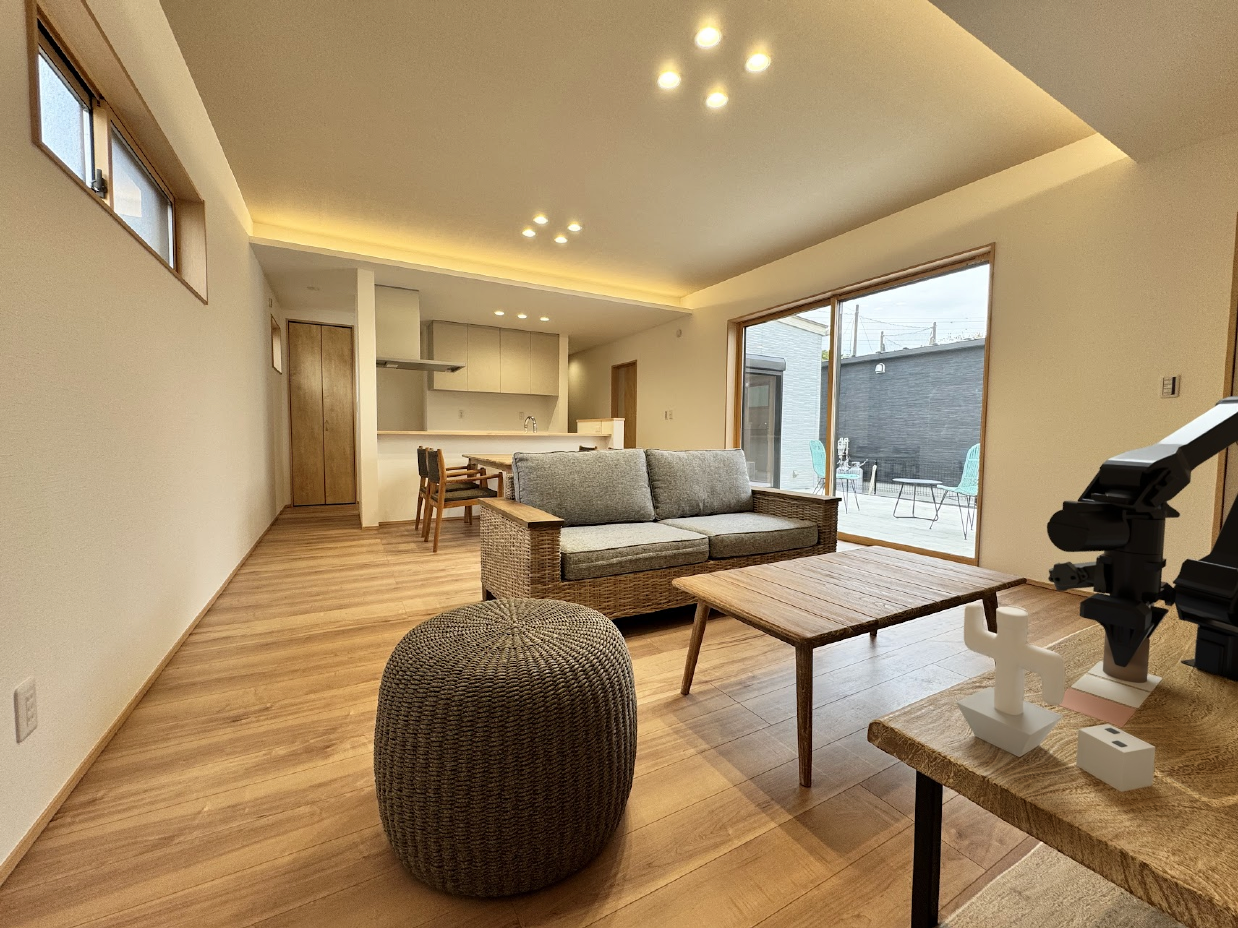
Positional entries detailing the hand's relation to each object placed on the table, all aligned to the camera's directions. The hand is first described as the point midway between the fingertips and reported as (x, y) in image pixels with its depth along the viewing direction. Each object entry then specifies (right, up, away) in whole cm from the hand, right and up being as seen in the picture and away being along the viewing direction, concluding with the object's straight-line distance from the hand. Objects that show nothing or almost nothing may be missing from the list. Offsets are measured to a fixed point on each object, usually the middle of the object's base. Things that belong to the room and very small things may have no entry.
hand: (1125, 660), depth 71 cm
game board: (-6, -3, -4) cm, 7 cm away
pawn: (0, -2, 0) cm, 2 cm away
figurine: (-27, -4, -14) cm, 30 cm away
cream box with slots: (-20, -4, -20) cm, 29 cm away
